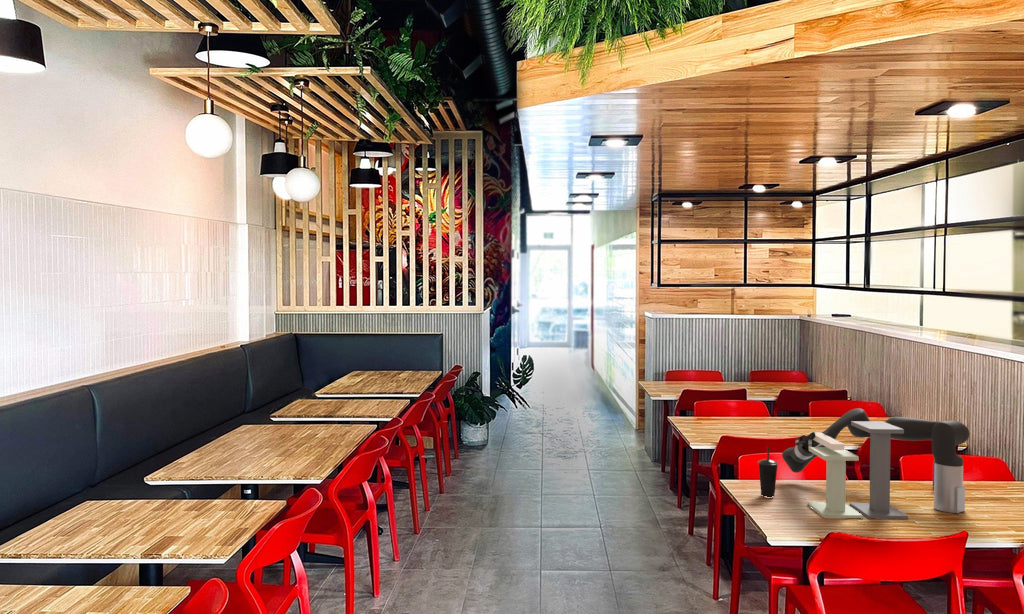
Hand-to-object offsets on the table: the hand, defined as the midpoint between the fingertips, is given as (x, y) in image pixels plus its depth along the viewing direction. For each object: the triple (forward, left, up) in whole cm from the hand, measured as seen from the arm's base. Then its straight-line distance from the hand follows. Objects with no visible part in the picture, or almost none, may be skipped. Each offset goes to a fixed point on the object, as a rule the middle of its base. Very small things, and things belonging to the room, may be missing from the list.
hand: (820, 434), depth 285 cm
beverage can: (-19, -59, -26) cm, 68 cm away
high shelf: (-19, -5, -26) cm, 33 cm away
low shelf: (-10, +8, -26) cm, 29 cm away
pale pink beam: (-4, +3, -2) cm, 6 cm away
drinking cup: (+16, +11, -26) cm, 33 cm away
